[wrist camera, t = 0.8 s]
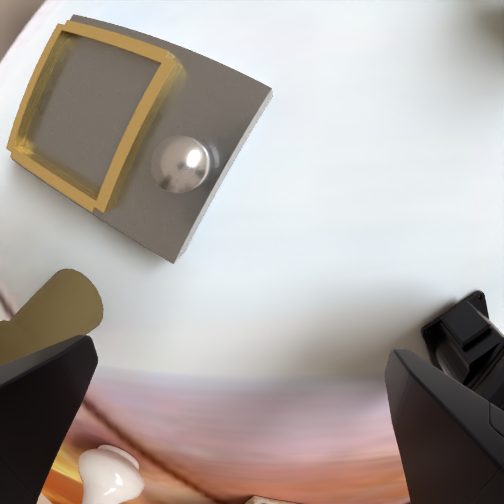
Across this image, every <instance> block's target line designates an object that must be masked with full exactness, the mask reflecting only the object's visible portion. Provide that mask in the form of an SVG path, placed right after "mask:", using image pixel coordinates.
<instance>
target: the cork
mask: <svg viewBox="0 0 504 504" xmlns="http://www.w3.org/2000/svg"><path fill="white" fill-rule="evenodd" d="M102 318H103V305H102V301H101V298H100V296H99V293H98V291H97V289H96V288H95V287H94V285H93V284H92V283H91V281H90V280H89V279H88V278H86V277H85V276H84V275H83V274H82V273H80V272H78V271H75V270H73V269H63V270H60V271H58V272H57V273H56V274H55V275H54V276H53V277H52V278H51V279H50V280H49V281H48V282H47V283H46V284H45V285H44V286H43V287H42V288H41V289H40V290H39V291H38V292H37V293H36V294H35V295H34V296H33V297H32V298H31V299H30V300H29V301H28V302H27V303H26V304H25V305H24V306H23V307H22V308H21V309H20V310H19V311H18V312H17V313H16V314H15V316H14V317H13V318H12V319H11V320H10V321H5V320H4V321H0V365H3V364H5V363H8V362H10V361H13V360H15V359H18V358H21V357H23V356H26V355H28V354H31V353H33V352H36V351H38V350H41V349H43V348H46V347H48V346H51V345H54V344H56V343H59V342H61V341H64V340H66V339H69V338H71V337H74V336H76V335H80V334H81V335H86V334H87V333H89V332H90V331H91V330H93V329H94V328H95V327H97V326H98V325H99V324H100V322H101V320H102Z"/></svg>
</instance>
